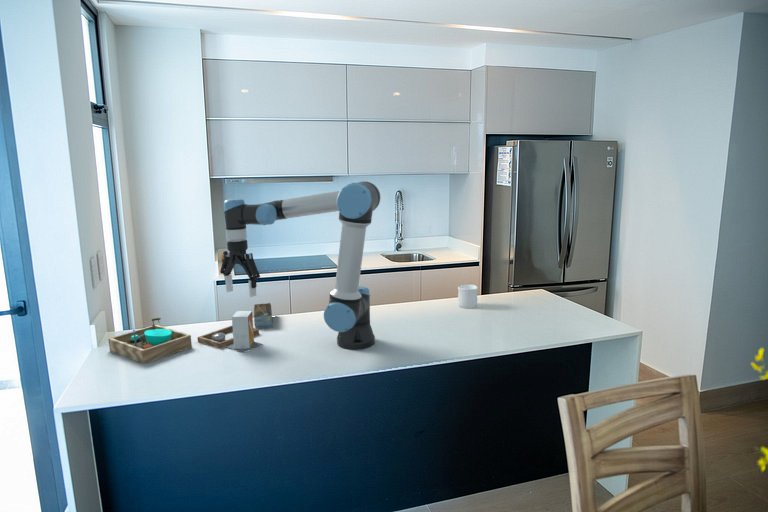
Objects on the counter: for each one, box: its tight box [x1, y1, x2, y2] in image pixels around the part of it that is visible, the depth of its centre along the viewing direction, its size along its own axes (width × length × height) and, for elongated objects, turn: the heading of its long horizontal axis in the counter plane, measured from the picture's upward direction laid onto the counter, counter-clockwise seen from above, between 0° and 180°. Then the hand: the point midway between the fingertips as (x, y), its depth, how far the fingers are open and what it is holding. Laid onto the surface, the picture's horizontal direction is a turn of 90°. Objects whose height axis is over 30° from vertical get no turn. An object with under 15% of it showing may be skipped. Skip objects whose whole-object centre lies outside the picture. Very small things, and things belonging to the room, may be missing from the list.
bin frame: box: [197, 325, 260, 350], centre depth 217 cm, size 14×20×2 cm
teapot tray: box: [108, 324, 193, 365], centre depth 205 cm, size 24×20×5 cm
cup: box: [457, 283, 479, 309], centre depth 256 cm, size 10×10×10 cm
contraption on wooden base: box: [125, 317, 172, 349], centre depth 204 cm, size 14×18×15 cm
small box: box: [231, 310, 255, 349], centre depth 206 cm, size 8×6×13 cm
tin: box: [211, 333, 227, 342], centre depth 213 cm, size 5×5×3 cm
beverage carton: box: [253, 302, 273, 330], centre depth 237 cm, size 8×19×7 cm, turn 13°
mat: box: [225, 341, 263, 354], centre depth 207 cm, size 10×10×1 cm
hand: (241, 293), depth 203 cm, fingers open, 13 cm apart
